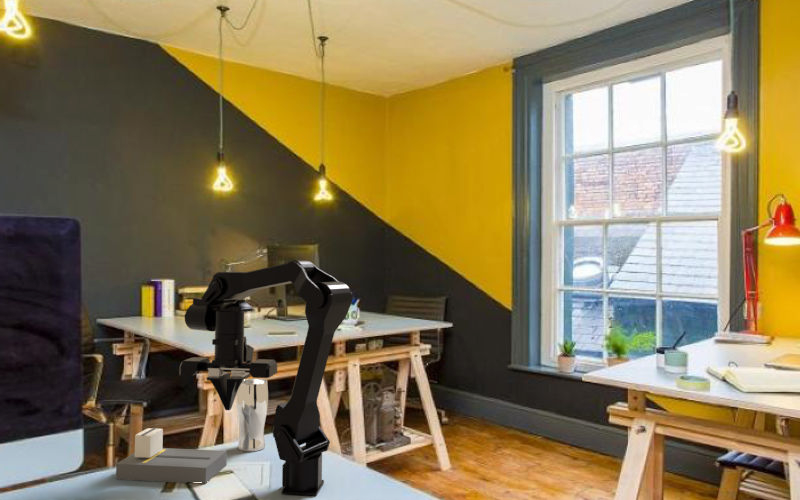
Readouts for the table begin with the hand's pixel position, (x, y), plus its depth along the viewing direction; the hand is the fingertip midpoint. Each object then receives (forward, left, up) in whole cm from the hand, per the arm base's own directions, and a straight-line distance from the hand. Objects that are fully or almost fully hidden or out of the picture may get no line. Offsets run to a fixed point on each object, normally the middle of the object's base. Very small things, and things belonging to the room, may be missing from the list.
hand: (228, 409), depth 119 cm
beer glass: (0, -14, -12) cm, 19 cm away
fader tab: (+15, +3, -8) cm, 18 cm away
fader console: (+10, +3, -12) cm, 16 cm away
